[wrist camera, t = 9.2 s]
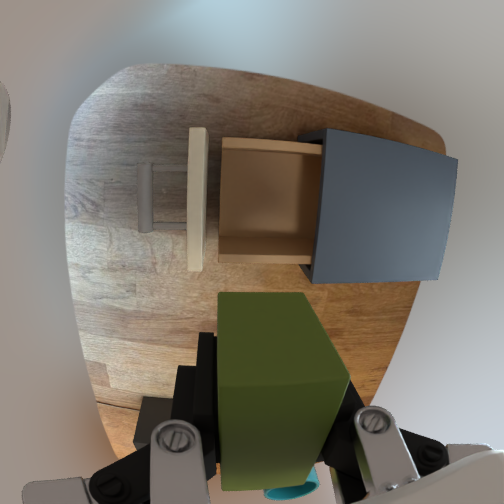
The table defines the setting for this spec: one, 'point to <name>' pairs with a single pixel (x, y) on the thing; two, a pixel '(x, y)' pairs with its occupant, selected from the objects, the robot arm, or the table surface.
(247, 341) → the olive green block
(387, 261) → the cabinet
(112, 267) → the table surface
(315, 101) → the table surface
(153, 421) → the dark gray block
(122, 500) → the robot arm
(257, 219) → the drawer
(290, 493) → the cup
